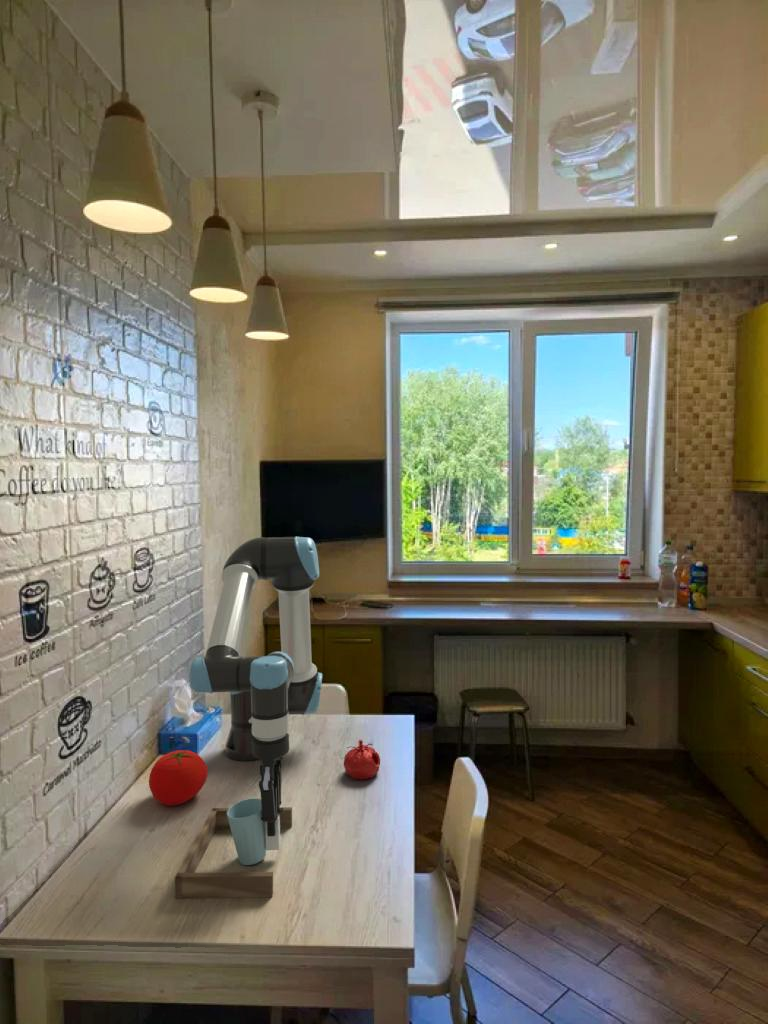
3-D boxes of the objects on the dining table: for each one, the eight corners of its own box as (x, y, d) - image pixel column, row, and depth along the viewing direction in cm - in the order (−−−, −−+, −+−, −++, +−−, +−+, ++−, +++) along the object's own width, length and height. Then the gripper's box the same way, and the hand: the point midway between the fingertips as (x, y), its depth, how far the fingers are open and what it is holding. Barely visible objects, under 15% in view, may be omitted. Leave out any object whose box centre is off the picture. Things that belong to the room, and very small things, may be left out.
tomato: (163, 785, 152) (162, 741, 152) (214, 787, 151) (214, 742, 151) (138, 812, 140) (137, 763, 139) (194, 814, 139) (193, 765, 138)
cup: (229, 855, 123) (222, 807, 122) (264, 840, 127) (257, 793, 126) (239, 874, 116) (232, 822, 116) (276, 857, 120) (269, 808, 120)
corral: (213, 825, 134) (212, 808, 134) (292, 824, 134) (291, 807, 134) (175, 898, 109) (175, 877, 109) (272, 897, 109) (271, 876, 109)
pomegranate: (348, 786, 151) (347, 751, 151) (340, 769, 161) (339, 735, 161) (385, 780, 154) (384, 745, 154) (374, 763, 164) (373, 730, 163)
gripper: (258, 722, 127) (261, 830, 128) (244, 748, 114) (247, 868, 115) (293, 721, 127) (295, 829, 128) (283, 747, 114) (286, 867, 115)
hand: (273, 847), depth 121 cm, fingers closed
